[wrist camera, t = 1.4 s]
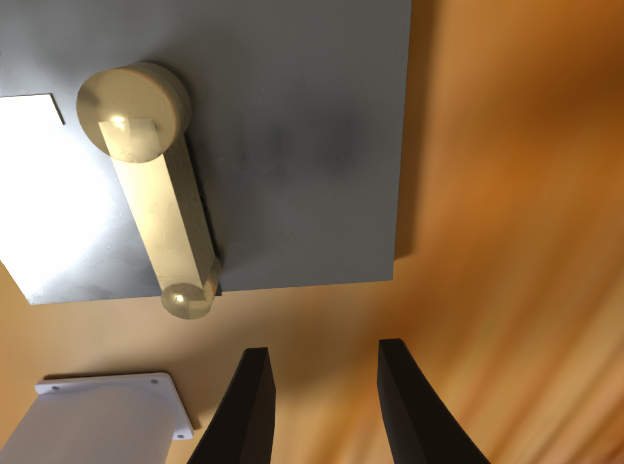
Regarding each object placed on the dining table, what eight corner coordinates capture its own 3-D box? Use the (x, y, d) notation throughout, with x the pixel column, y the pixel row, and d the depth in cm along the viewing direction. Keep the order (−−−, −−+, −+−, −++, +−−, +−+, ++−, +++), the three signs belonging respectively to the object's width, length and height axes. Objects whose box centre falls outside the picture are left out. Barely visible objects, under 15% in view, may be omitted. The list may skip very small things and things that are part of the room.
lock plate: (49, 289, 21) (31, 308, 19) (-269, -242, 10) (-358, -283, 9) (386, 266, 20) (392, 284, 19) (418, -302, 10) (438, -354, 9)
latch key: (99, 65, 13) (59, 73, 11) (180, 58, 13) (156, 66, 11) (176, 286, 18) (160, 321, 16) (233, 282, 18) (224, 317, 16)
